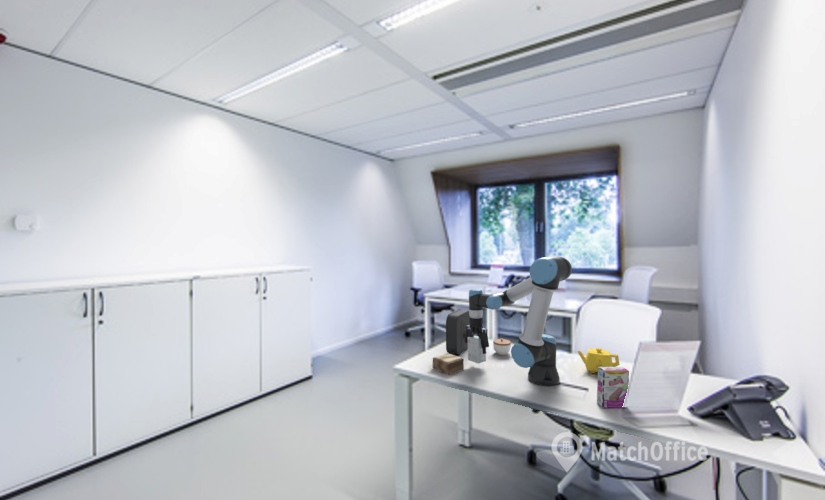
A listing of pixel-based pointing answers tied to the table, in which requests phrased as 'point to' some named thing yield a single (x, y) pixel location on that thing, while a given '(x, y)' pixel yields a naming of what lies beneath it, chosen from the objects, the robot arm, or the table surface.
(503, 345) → the lidded jar
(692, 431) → the table surface
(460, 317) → the speaker
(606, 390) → the candy bar box
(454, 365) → the brown square box
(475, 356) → the small box
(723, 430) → the table surface
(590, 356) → the teapot
